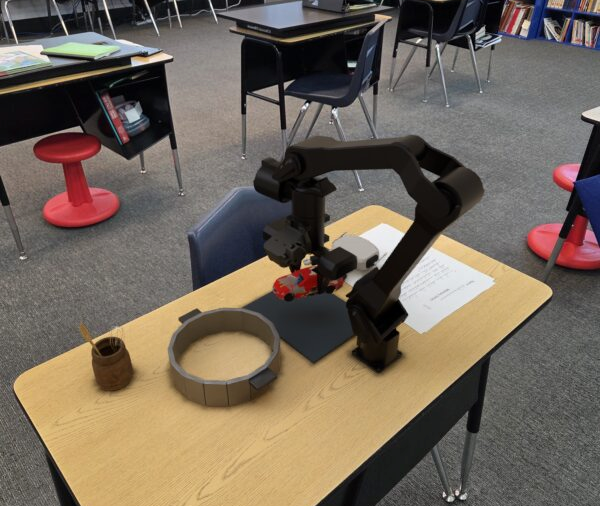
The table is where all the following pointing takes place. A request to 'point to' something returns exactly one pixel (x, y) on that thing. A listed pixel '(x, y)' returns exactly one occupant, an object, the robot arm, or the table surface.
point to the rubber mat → (307, 322)
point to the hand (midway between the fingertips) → (307, 285)
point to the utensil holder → (110, 361)
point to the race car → (301, 285)
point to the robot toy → (354, 251)
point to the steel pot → (215, 322)
